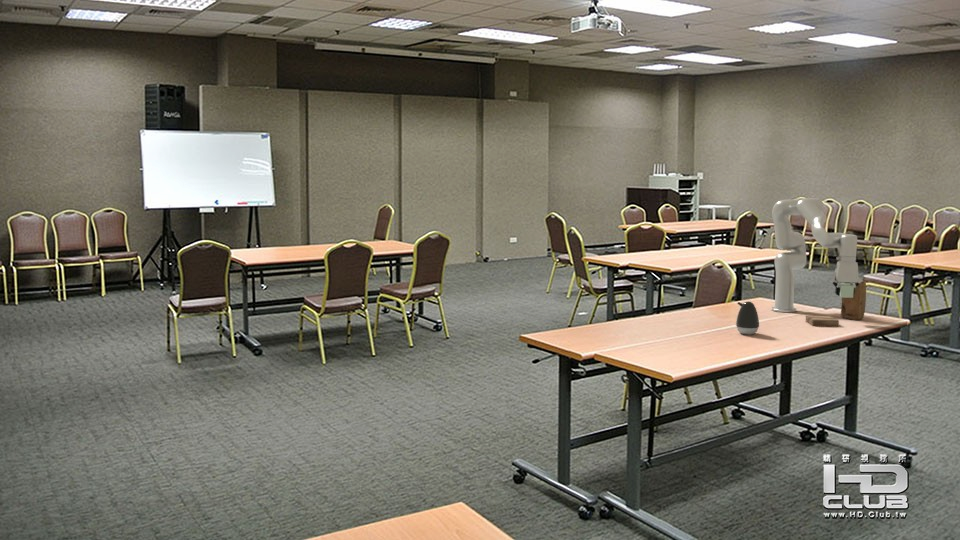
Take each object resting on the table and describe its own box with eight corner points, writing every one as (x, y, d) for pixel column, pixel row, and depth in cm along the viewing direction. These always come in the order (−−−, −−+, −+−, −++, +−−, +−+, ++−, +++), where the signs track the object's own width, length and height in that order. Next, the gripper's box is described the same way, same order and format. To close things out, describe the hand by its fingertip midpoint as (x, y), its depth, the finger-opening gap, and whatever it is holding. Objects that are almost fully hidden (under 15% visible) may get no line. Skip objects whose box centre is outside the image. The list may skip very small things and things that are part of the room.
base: (805, 321, 400) (805, 315, 400) (830, 321, 399) (830, 315, 399) (812, 326, 388) (813, 319, 388) (838, 326, 387) (838, 320, 387)
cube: (836, 295, 398) (837, 283, 398) (848, 295, 398) (849, 283, 397) (840, 297, 393) (841, 285, 392) (853, 297, 392) (853, 285, 391)
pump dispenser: (741, 330, 378) (743, 299, 377) (762, 333, 371) (764, 301, 369) (731, 333, 371) (732, 301, 369) (752, 336, 364) (753, 304, 362)
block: (866, 319, 406) (868, 280, 404) (859, 321, 401) (862, 281, 398) (844, 316, 414) (846, 278, 411) (838, 318, 409) (840, 279, 406)
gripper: (831, 260, 390) (829, 296, 392) (868, 260, 388) (865, 297, 391) (826, 258, 397) (824, 293, 400) (862, 258, 395) (859, 294, 398)
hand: (844, 295), depth 395 cm, fingers closed on cube, 6 cm apart
